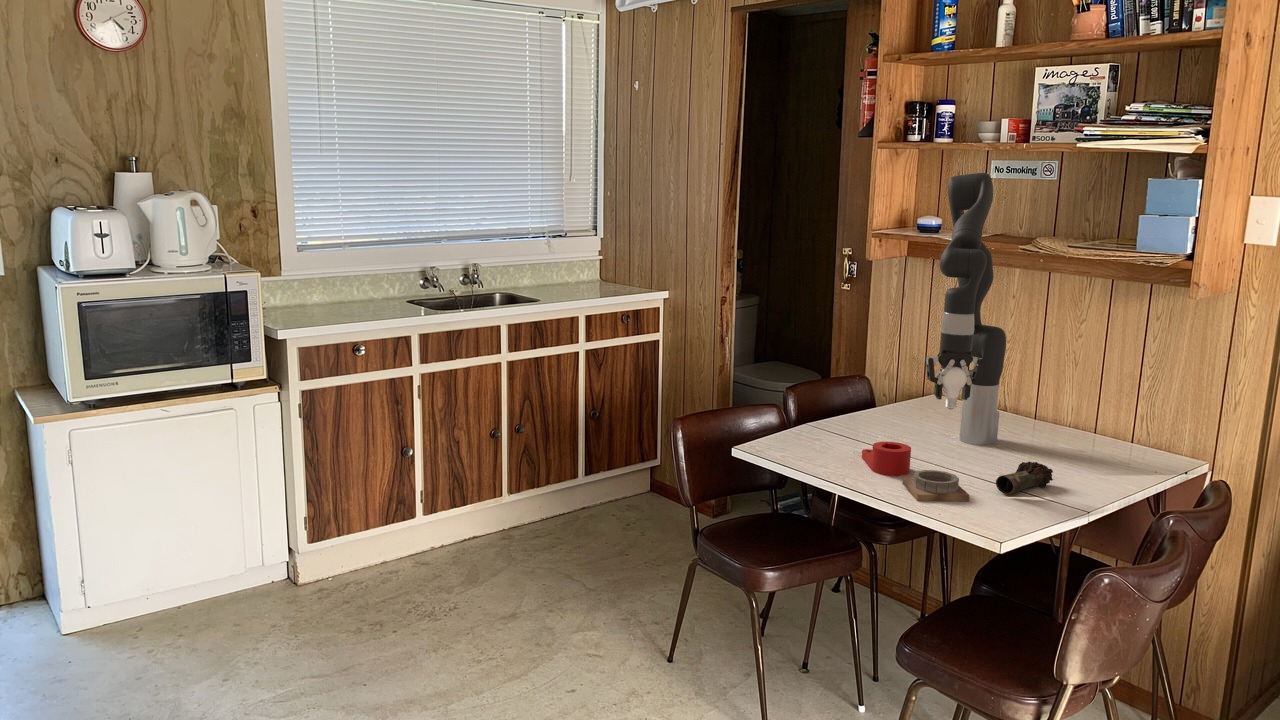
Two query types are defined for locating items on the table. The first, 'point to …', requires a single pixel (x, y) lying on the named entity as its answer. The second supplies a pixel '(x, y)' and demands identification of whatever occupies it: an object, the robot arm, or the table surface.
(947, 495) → the socket board
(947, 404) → the lightbulb
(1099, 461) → the table surface
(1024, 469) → the vacuum brush nozzle
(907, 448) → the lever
